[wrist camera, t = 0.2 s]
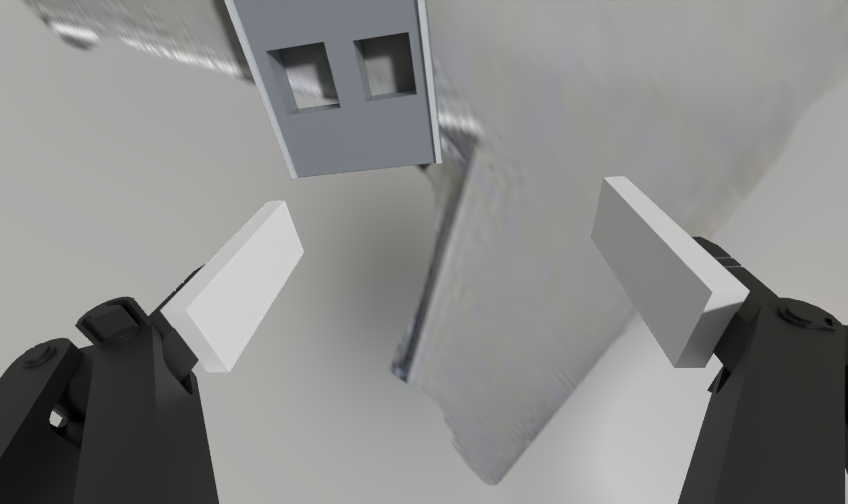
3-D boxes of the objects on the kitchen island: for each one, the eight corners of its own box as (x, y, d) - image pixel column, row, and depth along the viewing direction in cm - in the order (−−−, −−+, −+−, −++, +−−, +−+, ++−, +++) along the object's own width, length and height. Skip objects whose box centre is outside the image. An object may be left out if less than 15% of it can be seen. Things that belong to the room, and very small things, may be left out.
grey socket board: (230, -34, 32) (209, -39, 29) (418, -72, 29) (415, -82, 27) (302, 168, 43) (291, 179, 40) (442, 153, 41) (441, 163, 38)
